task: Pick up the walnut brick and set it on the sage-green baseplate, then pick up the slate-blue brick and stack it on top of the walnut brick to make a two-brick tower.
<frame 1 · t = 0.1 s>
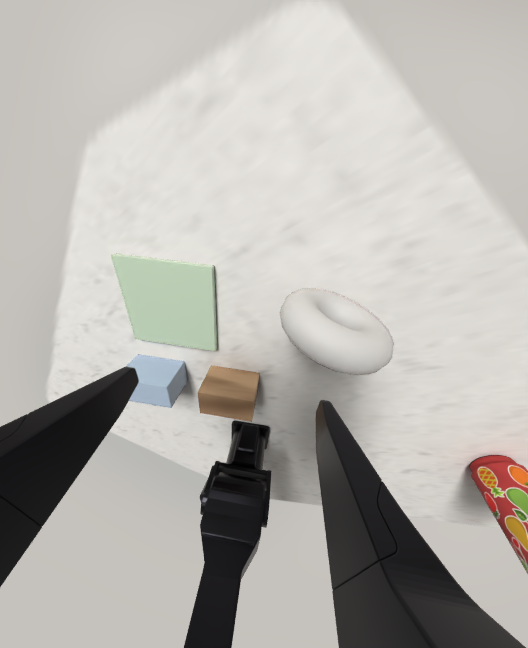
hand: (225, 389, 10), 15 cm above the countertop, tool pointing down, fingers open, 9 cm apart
smoothie: (489, 462, 33), on the countertop
slate brick: (163, 367, 31), on the countertop
walnut brick: (235, 378, 30), on the countertop
baseplate: (171, 305, 25), on the countertop
donut: (326, 301, 23), on the countertop
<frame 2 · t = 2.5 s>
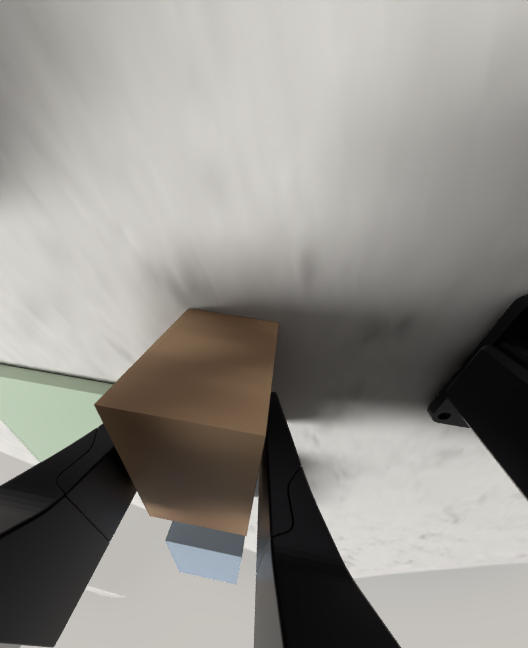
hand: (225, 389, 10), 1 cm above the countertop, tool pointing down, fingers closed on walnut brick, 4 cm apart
slate brick: (228, 471, 16), on the countertop
walnut brick: (231, 373, 11), on the countertop, touching gripper
baseplate: (85, 427, 15), on the countertop
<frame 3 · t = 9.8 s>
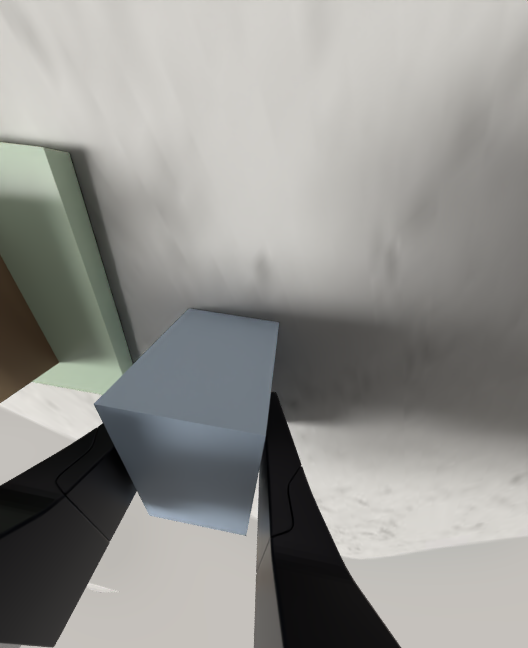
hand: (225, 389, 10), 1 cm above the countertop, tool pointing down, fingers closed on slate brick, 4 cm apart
slate brick: (231, 373, 11), on the countertop, touching gripper
baseplate: (4, 289, 10), on the countertop
when the fingers open (8 cm above the countertop, at t = 12.5 s): slate brick drops 1 cm, resting on walnut brick.
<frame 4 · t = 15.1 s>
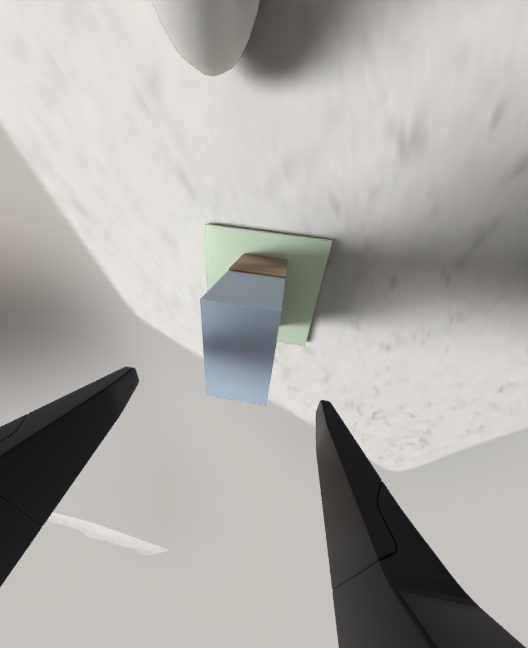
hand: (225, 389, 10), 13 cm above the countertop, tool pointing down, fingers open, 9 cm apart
slate brick: (252, 318, 16), point 6 cm above the countertop, touching walnut brick
walnut brick: (261, 292, 20), point 1 cm above the countertop, touching baseplate, slate brick
baseplate: (261, 290, 21), on the countertop
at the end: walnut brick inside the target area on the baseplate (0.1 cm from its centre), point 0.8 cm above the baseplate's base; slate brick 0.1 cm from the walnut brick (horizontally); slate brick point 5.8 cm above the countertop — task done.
